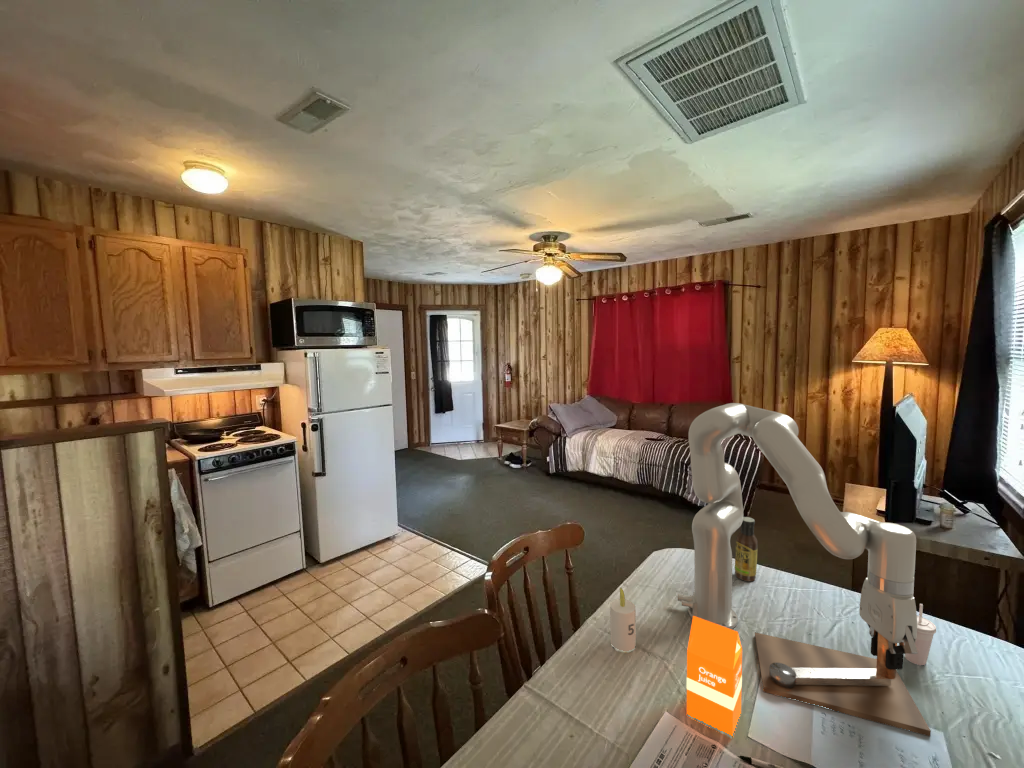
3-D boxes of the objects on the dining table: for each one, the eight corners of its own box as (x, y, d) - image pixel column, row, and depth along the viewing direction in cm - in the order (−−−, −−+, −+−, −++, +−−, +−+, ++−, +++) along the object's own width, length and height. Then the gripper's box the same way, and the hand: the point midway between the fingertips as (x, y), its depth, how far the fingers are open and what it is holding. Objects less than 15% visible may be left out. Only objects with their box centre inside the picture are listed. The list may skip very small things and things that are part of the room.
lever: (777, 687, 94) (778, 637, 93) (764, 670, 99) (766, 622, 98) (902, 689, 92) (905, 638, 91) (883, 672, 97) (886, 623, 96)
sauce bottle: (730, 574, 142) (731, 516, 141) (744, 570, 144) (745, 513, 143) (746, 584, 136) (747, 523, 135) (761, 580, 138) (762, 520, 137)
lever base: (763, 691, 95) (763, 686, 94) (754, 636, 112) (754, 631, 112) (930, 736, 83) (930, 730, 83) (891, 667, 101) (891, 661, 100)
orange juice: (697, 692, 95) (698, 606, 93) (741, 713, 89) (743, 622, 88) (685, 716, 89) (686, 625, 87) (732, 740, 83) (734, 643, 82)
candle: (621, 656, 106) (621, 599, 105) (605, 640, 112) (604, 586, 111) (641, 649, 109) (641, 592, 108) (624, 633, 115) (624, 580, 114)
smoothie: (941, 671, 99) (945, 613, 98) (909, 668, 100) (912, 611, 99) (921, 652, 105) (924, 597, 104) (891, 649, 106) (893, 595, 105)
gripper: (844, 562, 101) (841, 636, 103) (904, 604, 85) (900, 691, 86) (877, 562, 101) (874, 636, 102) (944, 604, 84) (939, 691, 86)
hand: (886, 660), depth 94 cm, fingers closed on lever, 3 cm apart
